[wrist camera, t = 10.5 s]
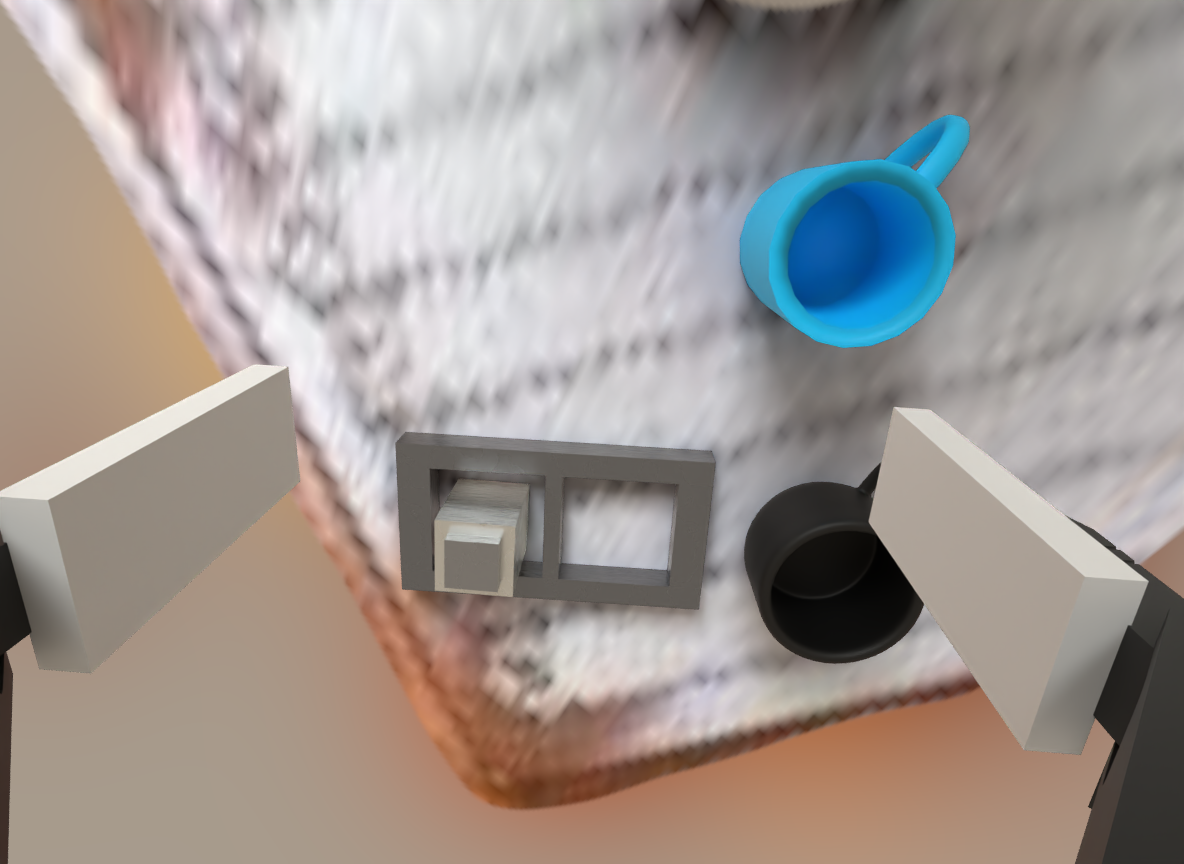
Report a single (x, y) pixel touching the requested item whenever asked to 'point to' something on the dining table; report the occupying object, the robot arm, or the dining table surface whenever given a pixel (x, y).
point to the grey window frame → (561, 513)
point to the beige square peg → (481, 537)
